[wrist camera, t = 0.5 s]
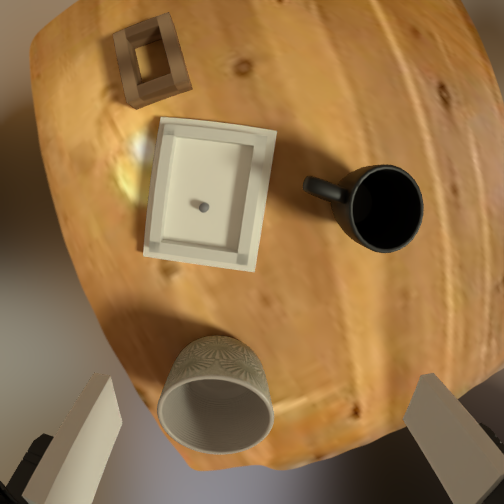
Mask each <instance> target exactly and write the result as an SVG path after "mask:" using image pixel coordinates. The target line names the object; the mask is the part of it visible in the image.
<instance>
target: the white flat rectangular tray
mask: <svg viewBox="0 0 504 504" xmlns="http://www.w3.org/2000/svg"><path fill="white" fill-rule="evenodd" d="M276 135H277V131H274V130H268V129H262V128H256V127H249V126H243V125H236V124H228V123H220V122H212V121H203V120H193V119H182V118H169V117H161V119H160V124H159V129H158V135H157V141H156V147H155V153H154V160H153V167H152V174H151V181H150V189H149V197H148V206H147V216H146V226H145V238H144V250H143V256H145V257H152V258H158V259H165V260H172V261H178V262H185V263H192V264H199V265H206V266H213V267H220V268H227V269H235V270H242V271H249V272H255V266H256V260H257V254H258V248H259V242H260V235H261V229H262V223H263V217H264V211H265V204H266V198H267V192H268V185H269V179H270V173H271V167H272V160H273V154H274V148H275V141H276Z"/></svg>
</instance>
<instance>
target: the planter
mask: <svg viewBox="0 0 504 504" xmlns="http://www.w3.org/2000/svg"><path fill="white" fill-rule="evenodd" d="M157 414H158V418H159V421H160V423H161V425H162V427H163V428H164V430H165V431H166V432H167V434H168V435H169V436H170V437H172V438H173V439H174V440H175V441H177V442H178V443H180V444H181V445H183V446H185V447H187V448H190V449H192V450H195V451H198V452H203V453H208V454H232V453H237V452H241V451H244V450H247V449H249V448H252V447H253V446H255V445H257V444H258V443H260V442H261V441H262V440H263V439H264V438H265V437H266V436H267V435H268V434H269V432H270V430H271V428H272V426H273V422H274V411H273V407H272V402H271V397H270V392H269V388H268V383H267V379H266V376H265V372H264V369H263V367H262V364H261V362H260V360H259V358H258V357H257V355H256V354H255V353H254V351H253V350H252V349H251V348H250V347H248V346H247V345H246V344H244V343H243V342H241V341H239V340H237V339H234V338H231V337H227V336H207V337H203V338H200V339H197V340H195V341H193V342H192V343H190V344H189V345H187V346H186V347H185V348H184V349H183V350H182V351H181V353H180V354H179V355H178V357H177V359H176V360H175V362H174V364H173V366H172V368H171V371H170V373H169V375H168V378H167V380H166V383H165V385H164V388H163V391H162V393H161V396H160V399H159V402H158V406H157Z"/></svg>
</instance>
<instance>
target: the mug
mask: <svg viewBox="0 0 504 504" xmlns="http://www.w3.org/2000/svg"><path fill="white" fill-rule="evenodd" d="M303 190H304V191H305V192H307V193H309V194H311V195H313V196H316V197H318V198H320V199H323V200H326V201H328V202H331V207H332V211H333V214H334V216H335V218H336V221H337V223H338V224H339V226H340V227H341V228H342V230H343V231H344V232H345V233H346V234H347V235H348V236H349V237H350V238H351V239H353V240H354V241H355V242H357V243H359V244H361V245H362V246H364V247H366V248H368V249H370V250H372V251H374V252H379V253H391V252H394V251H397V250H400V249H402V248H403V247H405V246H406V245H407V244H409V243H410V242H411V241H412V240H413V238H414V237H415V235H416V234H417V232H418V230H419V228H420V225H421V223H422V218H423V199H422V194H421V192H420V189H419V186H418V185H417V183H416V182H415V180H414V179H413V178H412V177H411V176H410V175H409V174H408V173H407V172H406V171H404V170H403V169H401V168H399V167H396V166H393V165H373V166H367V167H362V168H360V169H357V170H355V171H353V172H351V173H350V174H348V175H347V176H346V177H345V178H344V179H342V180H341V181H340V183H339V184H338V185H336V184H333V183H330V182H328V181H325V180H322V179H319V178H316V177H313V176H307V177H306V178H305V180H304V183H303Z"/></svg>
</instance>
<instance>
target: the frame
mask: <svg viewBox="0 0 504 504" xmlns="http://www.w3.org/2000/svg"><path fill="white" fill-rule="evenodd" d="M113 39H114V44H115V50H116V55H117V60H118V65H119V70H120V75H121V79H122V84H123V89H124V93H125V97H126V102H127V103H128V104H129V105H131V106H132V107H133V108H135V109H136V110H137V109H139V108H142V107H144V106H147V105H150V104H152V103H155V102H158V101H160V100H163V99H166V98H169V97H171V96H174V95H177V94H180V93H183V92H186V91H189V90H192V85H191V82H190V79H189V75H188V72H187V68H186V65H185V61H184V58H183V54H182V51H181V47H180V44H179V40H178V37H177V33H176V30H175V26H174V23H173V21H172V18H171V16H170V14H169V12H168V13H165V14H162V15H159V16H156V17H153V18H151V19H148V20H145V21H143V22H140V23H138V24H135V25H133V26H130V27H128V28H125V29H123V30H121V31H119V32H116V33H114V34H113ZM160 39H162V40H163V44H164V47H165V51H166V55H167V59H168V63H169V66H170V70H171V73H170V74H167V75H164V76H161V77H159V78H156V79H153V80H151V81H148V82H145V83H143V82H142V78H141V74H140V70H139V65H138V61H137V57H136V52H135V49H136V48H138V47H141V46H144V45H146V44H149V43H151V42H154V41H157V40H160Z"/></svg>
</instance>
